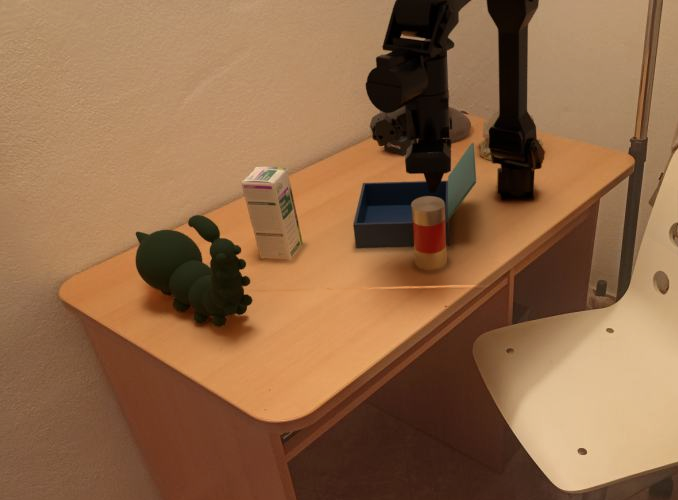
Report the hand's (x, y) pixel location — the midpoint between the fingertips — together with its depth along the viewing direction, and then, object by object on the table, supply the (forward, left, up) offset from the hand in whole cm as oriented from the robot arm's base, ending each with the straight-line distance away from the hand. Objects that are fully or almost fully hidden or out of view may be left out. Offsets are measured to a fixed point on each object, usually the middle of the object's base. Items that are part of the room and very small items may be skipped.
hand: (433, 191), depth 104 cm
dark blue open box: (+6, -13, -13) cm, 19 cm away
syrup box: (+27, -5, -13) cm, 30 cm away
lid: (-4, -13, -4) cm, 14 cm away
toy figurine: (+37, +11, -13) cm, 40 cm away
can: (+1, 0, -13) cm, 13 cm away
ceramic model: (-15, -45, -13) cm, 49 cm away
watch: (+9, -48, -13) cm, 50 cm away
